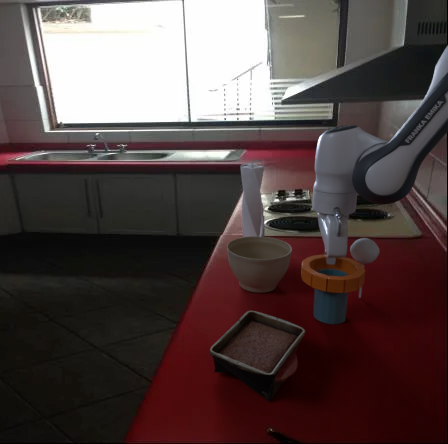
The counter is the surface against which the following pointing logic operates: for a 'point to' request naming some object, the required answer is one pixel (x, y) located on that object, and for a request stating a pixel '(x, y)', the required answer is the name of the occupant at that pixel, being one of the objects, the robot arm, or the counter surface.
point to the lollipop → (364, 252)
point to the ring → (333, 282)
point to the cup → (330, 302)
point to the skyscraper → (252, 200)
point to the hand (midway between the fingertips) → (329, 260)
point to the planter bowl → (258, 262)
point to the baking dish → (259, 351)
